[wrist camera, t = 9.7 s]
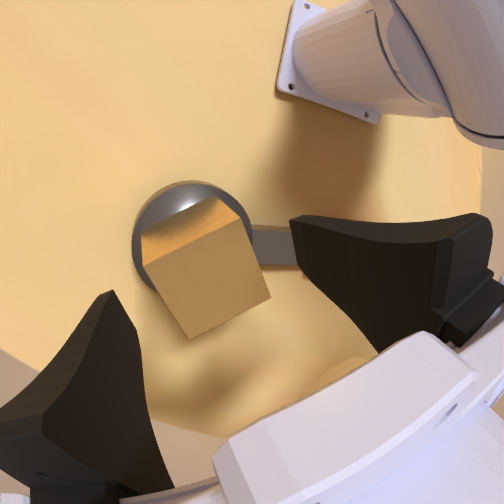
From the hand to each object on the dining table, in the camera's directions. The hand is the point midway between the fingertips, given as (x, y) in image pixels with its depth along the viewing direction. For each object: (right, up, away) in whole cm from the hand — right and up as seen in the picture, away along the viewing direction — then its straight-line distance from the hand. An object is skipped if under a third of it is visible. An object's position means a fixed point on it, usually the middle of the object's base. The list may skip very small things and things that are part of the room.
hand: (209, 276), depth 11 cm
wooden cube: (-2, +1, +8) cm, 8 cm away
